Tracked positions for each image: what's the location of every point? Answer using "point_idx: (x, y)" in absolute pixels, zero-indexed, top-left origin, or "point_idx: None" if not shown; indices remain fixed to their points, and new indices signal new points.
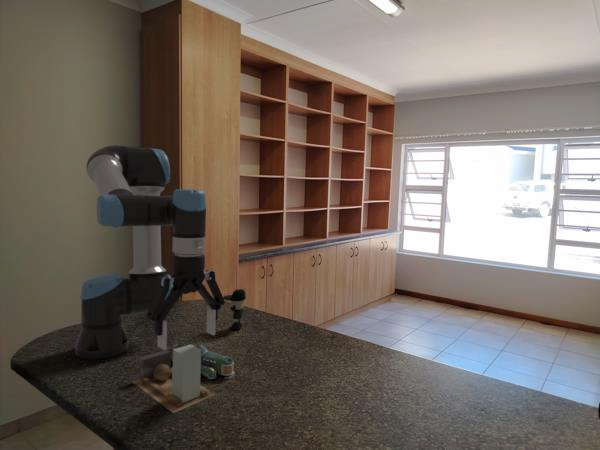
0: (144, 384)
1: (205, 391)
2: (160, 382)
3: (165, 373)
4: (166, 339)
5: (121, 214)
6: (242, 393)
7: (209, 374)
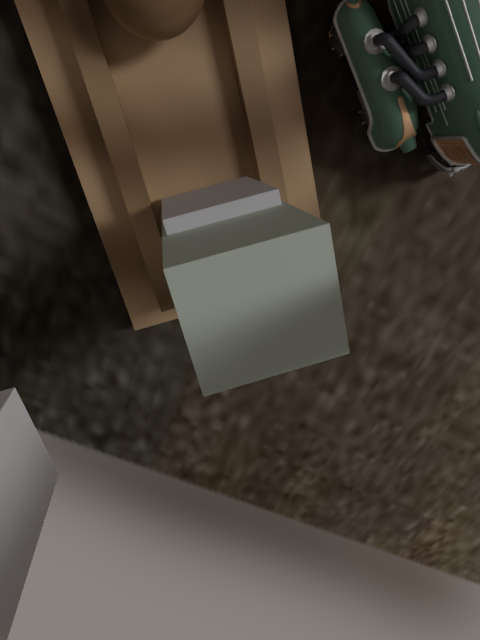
0: None
1: None
2: None
3: (162, 35)
4: (33, 545)
5: None
6: (424, 277)
7: (378, 135)
